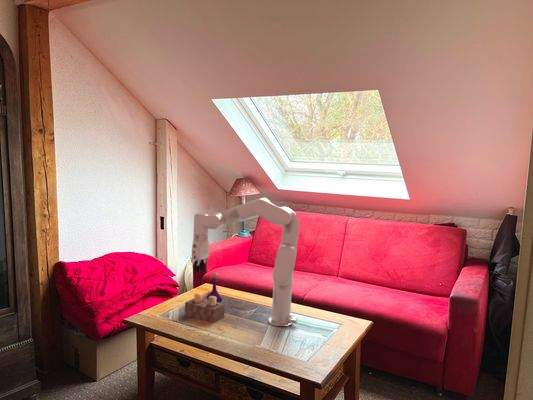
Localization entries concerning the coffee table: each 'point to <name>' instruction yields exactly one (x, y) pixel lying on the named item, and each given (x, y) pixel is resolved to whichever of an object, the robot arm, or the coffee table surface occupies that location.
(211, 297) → the beech plug
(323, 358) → the coffee table surface
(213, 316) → the walnut block
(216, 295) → the perfume bottle
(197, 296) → the terracotta plug
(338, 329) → the coffee table surface
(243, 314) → the coffee table surface
